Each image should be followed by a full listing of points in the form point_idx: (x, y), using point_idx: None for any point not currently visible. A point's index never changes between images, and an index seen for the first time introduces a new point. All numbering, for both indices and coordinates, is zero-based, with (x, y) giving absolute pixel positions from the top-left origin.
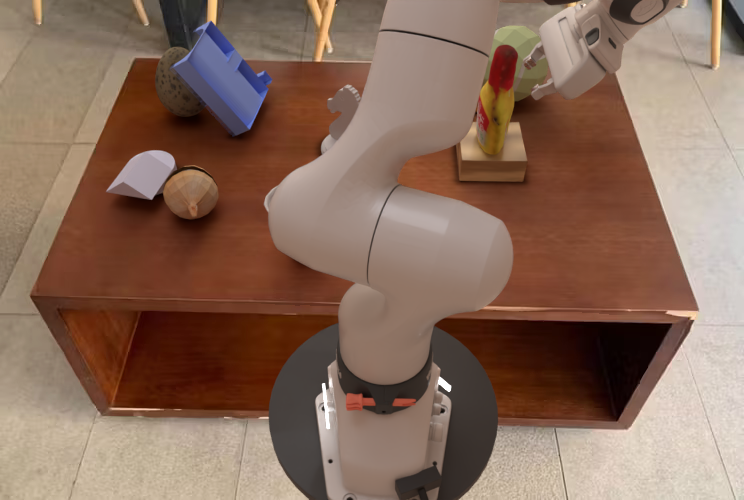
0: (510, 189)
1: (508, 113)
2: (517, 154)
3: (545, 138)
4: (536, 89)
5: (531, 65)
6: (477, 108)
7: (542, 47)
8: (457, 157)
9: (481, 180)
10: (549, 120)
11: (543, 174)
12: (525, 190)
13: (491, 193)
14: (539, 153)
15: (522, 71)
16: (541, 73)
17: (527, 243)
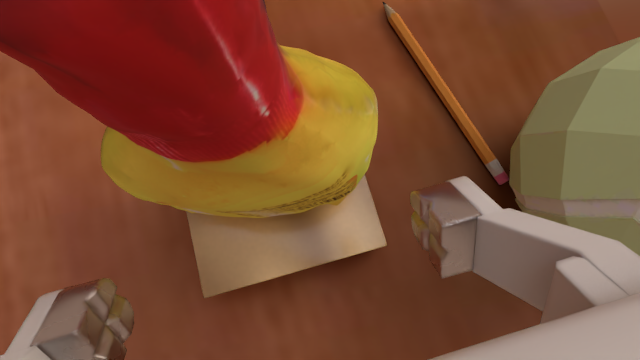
0: (189, 264)
1: (146, 194)
2: (228, 264)
3: (419, 324)
4: (23, 330)
5: (429, 242)
6: (471, 130)
7: (578, 310)
8: None
9: None
10: (504, 324)
11: (266, 338)
12: (193, 301)
13: (164, 222)
14: (349, 316)
15: (592, 210)
16: None
17: (4, 334)
